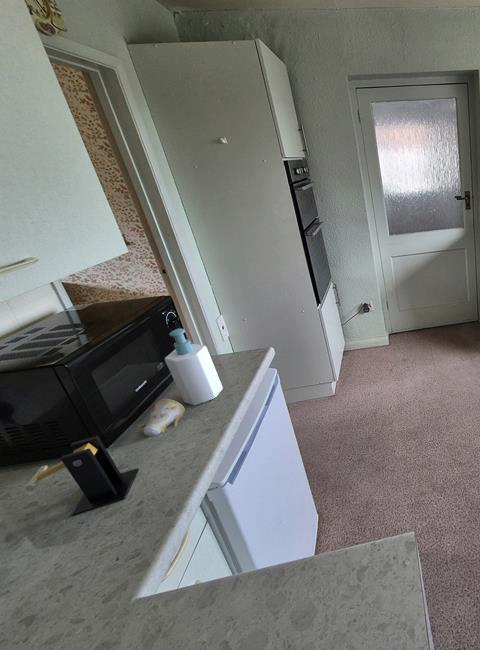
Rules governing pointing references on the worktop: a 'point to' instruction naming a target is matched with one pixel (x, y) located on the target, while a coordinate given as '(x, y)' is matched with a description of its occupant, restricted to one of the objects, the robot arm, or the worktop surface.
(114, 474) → the bracket
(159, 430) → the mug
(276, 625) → the worktop surface
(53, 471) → the tap lever
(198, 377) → the soap bottle
